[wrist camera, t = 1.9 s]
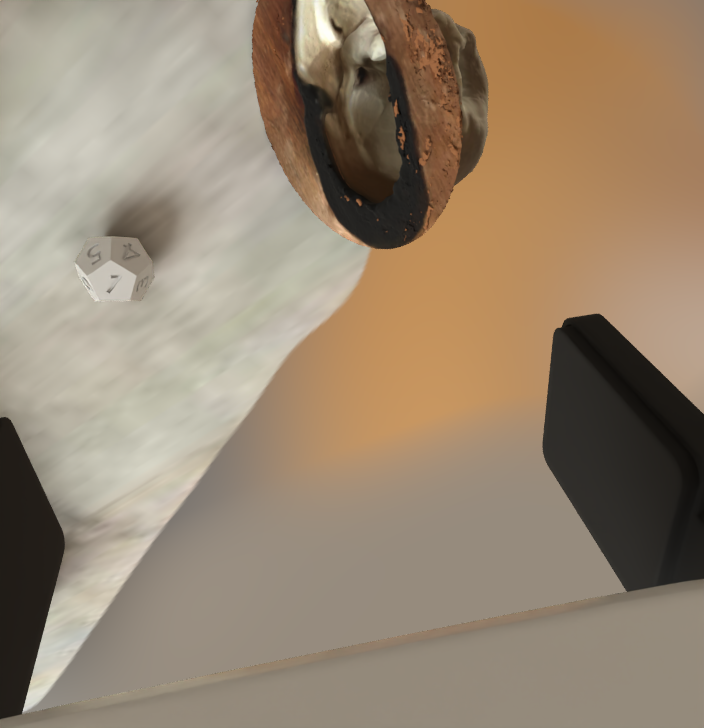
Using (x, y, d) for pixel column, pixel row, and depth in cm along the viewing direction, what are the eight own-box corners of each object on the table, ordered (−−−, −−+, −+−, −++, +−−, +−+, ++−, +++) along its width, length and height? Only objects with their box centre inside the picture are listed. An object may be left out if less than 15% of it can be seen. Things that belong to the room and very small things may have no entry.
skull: (445, -148, 19) (437, -108, 28) (138, -5, 22) (220, -11, 30) (536, 233, 24) (505, 165, 33) (282, 310, 27) (316, 228, 36)
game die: (65, 266, 33) (56, 292, 30) (105, 208, 32) (99, 230, 29) (129, 303, 35) (125, 330, 32) (169, 249, 33) (168, 273, 31)
